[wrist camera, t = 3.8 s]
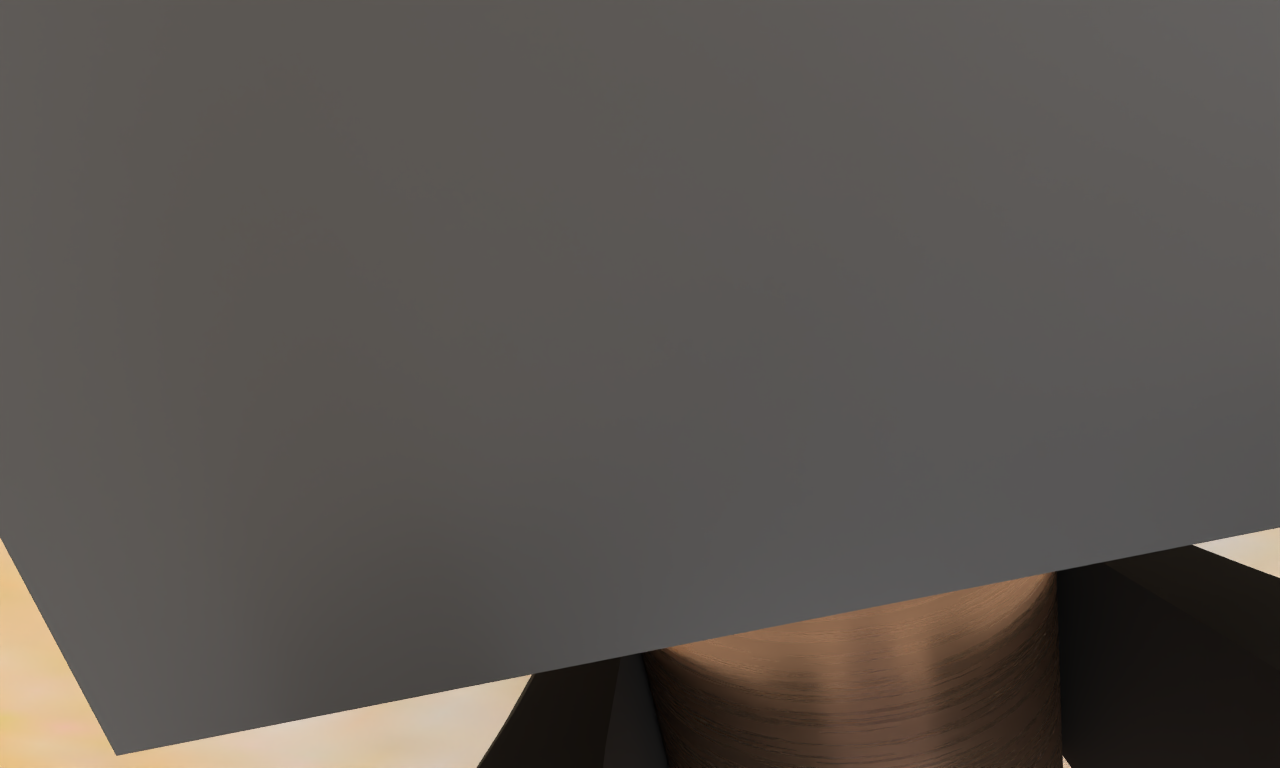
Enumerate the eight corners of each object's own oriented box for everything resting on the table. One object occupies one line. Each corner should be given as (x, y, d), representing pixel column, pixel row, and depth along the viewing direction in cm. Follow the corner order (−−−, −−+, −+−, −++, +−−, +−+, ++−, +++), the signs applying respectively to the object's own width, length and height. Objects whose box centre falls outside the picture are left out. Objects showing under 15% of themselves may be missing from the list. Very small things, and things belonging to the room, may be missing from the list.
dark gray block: (1122, -283, 8) (2378, -1186, 2) (1123, 225, 10) (1851, 414, 4) (243, -88, 8) (-540, -479, 3) (392, 376, 10) (117, 756, 4)
